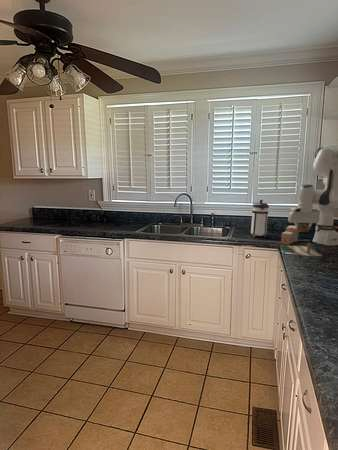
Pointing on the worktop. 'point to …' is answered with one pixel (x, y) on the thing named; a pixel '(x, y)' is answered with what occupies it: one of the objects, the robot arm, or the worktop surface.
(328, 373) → the worktop surface
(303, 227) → the walnut bead
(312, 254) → the lacing board
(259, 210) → the coffee press
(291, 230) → the stack of blocks
